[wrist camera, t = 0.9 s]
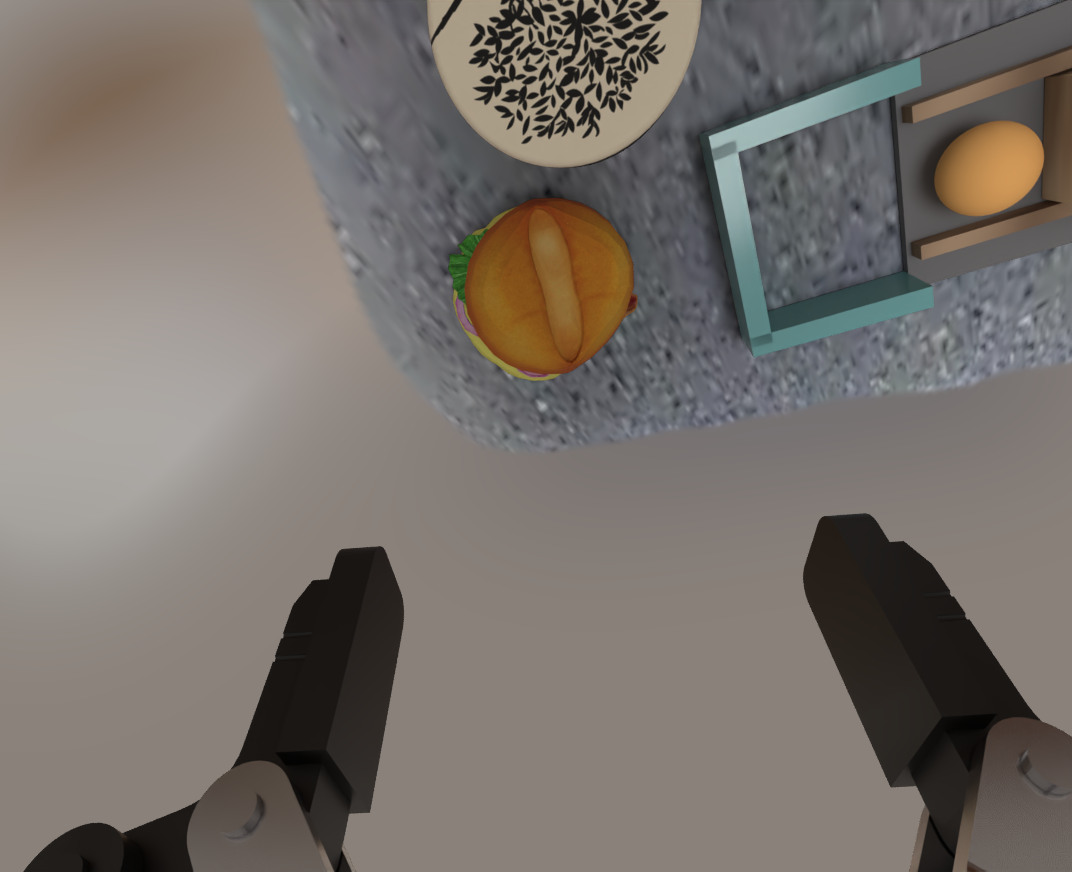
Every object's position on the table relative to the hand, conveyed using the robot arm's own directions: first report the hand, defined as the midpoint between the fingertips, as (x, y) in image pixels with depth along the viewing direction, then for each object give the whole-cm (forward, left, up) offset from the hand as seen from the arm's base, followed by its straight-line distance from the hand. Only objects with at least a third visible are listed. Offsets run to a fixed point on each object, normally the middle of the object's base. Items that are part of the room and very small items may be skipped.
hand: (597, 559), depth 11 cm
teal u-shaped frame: (-8, +9, -29) cm, 31 cm away
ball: (-14, +14, -26) cm, 33 cm away
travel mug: (-8, -6, -29) cm, 31 cm away
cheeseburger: (+3, -2, -29) cm, 29 cm away
